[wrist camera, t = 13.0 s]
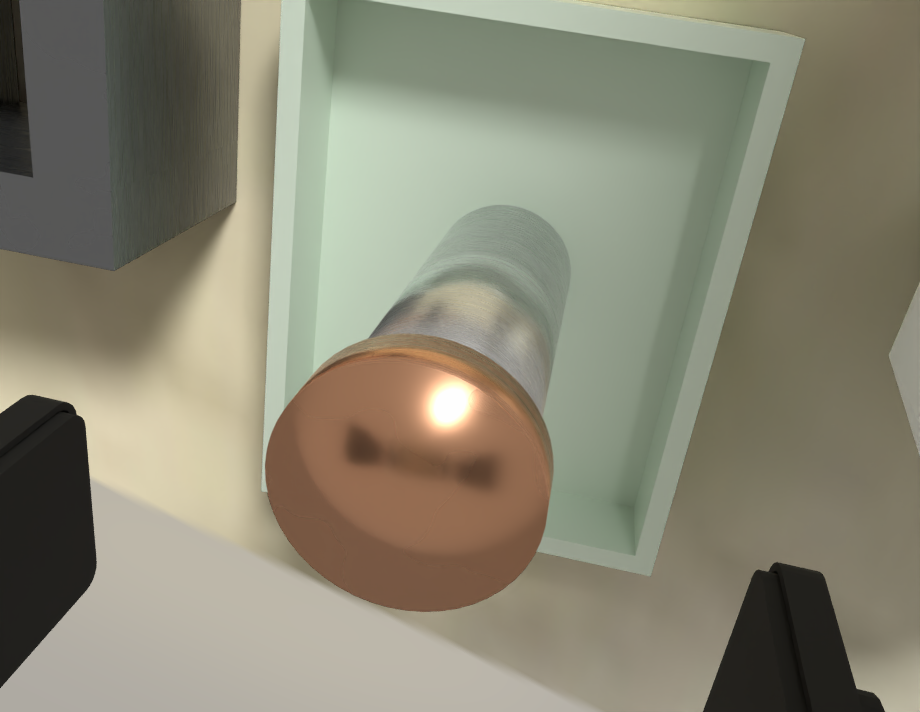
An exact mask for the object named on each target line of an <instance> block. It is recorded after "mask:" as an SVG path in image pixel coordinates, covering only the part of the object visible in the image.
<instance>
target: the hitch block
mask: <svg viewBox="0 0 920 712" xmlns="http://www.w3.org/2000/svg"><path fill="white" fill-rule="evenodd" d="M19 5H20V18H21V30H22V43H23V56H24V68H25V81H26V94H27V103H23V102H19V92H18V80H17V68H16V56H15V44H14V32H13V20H12V8H11V0H0V249H4V250H9V251H14V252H19V253H24V254H29V255H35V256H40V257H45V258H50V259H55V260H60V261H65V262H70V263H76V264H81V265H86V266H91V267H96V268H101V269H106V270H111V271H115V270H117V269H118V268H120V267H122V266H124V265H125V264H127V263H129V262H131V261H133V260H134V259H136V258H138V257H140V256H141V255H143V254H145V253H147V252H148V251H150V250H152V249H154V248H155V247H157V246H159V245H161V244H163V243H164V242H166V241H168V240H170V239H171V238H173V237H175V236H177V235H178V234H180V233H182V232H184V231H185V230H187V229H189V228H191V227H193V226H194V225H196V224H198V223H200V222H201V221H203V220H205V219H207V218H208V217H210V216H212V215H214V214H215V213H217V212H219V211H221V210H222V209H224V208H226V207H228V206H230V205H231V204H233V203H235V202H236V184H237V140H238V97H239V53H240V9H241V0H19Z"/></svg>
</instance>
